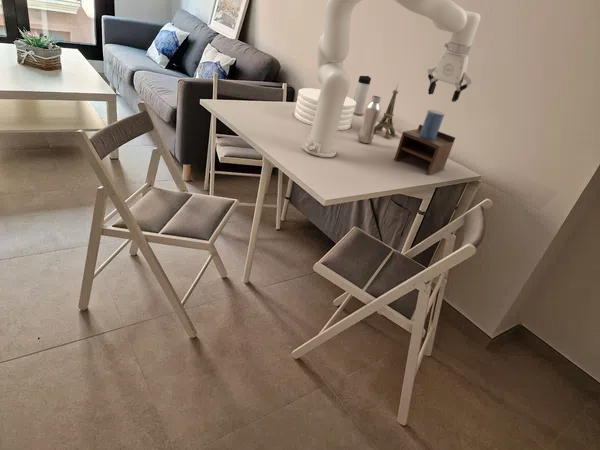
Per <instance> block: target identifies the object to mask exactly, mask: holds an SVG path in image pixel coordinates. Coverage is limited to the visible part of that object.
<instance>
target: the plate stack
mask: <svg viewBox="0 0 600 450" xmlns="http://www.w3.org/2000/svg"><path fill="white" fill-rule="evenodd" d="M321 89H322V88H311V87H304V88H300V89H298V92H297V97H296V99H297V100H296V103H295V107H294V113H293V114H294V117H295V118H296V119H297V120H298V121H300V122H302V123H305V124H307V125H310V126H312V125H313V121H314V116H315V111H316V106H317V102H318V98H319V95H320V92H321ZM355 106H356V101H354V98H352V97H349V96H348V95H347V96H346V98H345V101H344V105H343V108H342V112H341V117H340V121H339V125H338V129H337V131H345V130H349V129H350V128H351V126H352V122H353V118H354V113H353V112H354V111H355Z"/></svg>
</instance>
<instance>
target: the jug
mask: <svg viewBox="0 0 600 450" xmlns="http://www.w3.org/2000/svg"><path fill="white" fill-rule="evenodd" d="M445 115H446V114H445V112H444V113H443V112H441V111H439V110H435V109H428V110H427V112H426V115H425V117H424V121H423V124H422V125H423V126H422V129H421V132H420V136H421V137H423V138H426V139H429V140H435V139H436V137H437V134H438V131H439V132H440V129H441V126H442V123H443V120H444V117H445Z"/></svg>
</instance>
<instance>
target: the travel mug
mask: <svg viewBox="0 0 600 450" xmlns="http://www.w3.org/2000/svg"><path fill="white" fill-rule="evenodd" d="M371 81H372V77H370V76H369V75H359V77H358V80H357V84H356V89H355V91H354V96H353V100H354V101H356V106H355V111H354V112H353V113H354V115H355V116H362V114H363V112H364V111H363V110H364V109H365V108H364V107H365V104H366V101H367V97H368V93H369V88H370V85H371ZM354 115H353V116H354Z"/></svg>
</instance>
